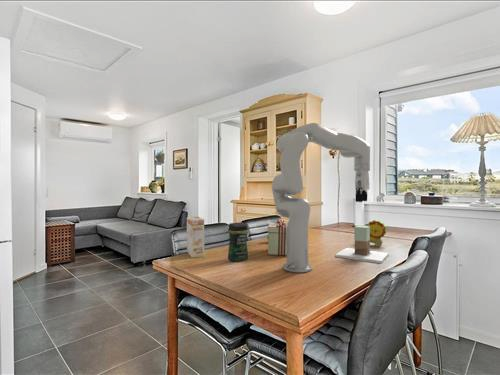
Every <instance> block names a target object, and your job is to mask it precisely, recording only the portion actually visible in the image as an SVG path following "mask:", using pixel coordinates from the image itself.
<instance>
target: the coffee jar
mask: <svg viewBox="0 0 500 375" xmlns="http://www.w3.org/2000/svg"><path fill="white" fill-rule="evenodd" d="M227 232H228V236H229V242H228V244H229V245H228V253H227V259H228V260H229V261H231V262H243V261H247V260H248V258H249V252H248V242H247V240H248V239H247V236H248V233H249V229H248V223H247V222H231V223H229V224H228V229H227Z"/></svg>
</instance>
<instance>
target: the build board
mask: <svg viewBox="0 0 500 375" xmlns="http://www.w3.org/2000/svg"><path fill="white" fill-rule="evenodd" d="M389 254H390V252H384V251H375V250H370V253H369V254H368V255H367V256H366V255H358V254H355V248H351V247H346V248H344V249H342V250H340V251H338V252H337V253H336V254H335V255H334V256H335V258H342V259H349V260H355V261H361V262H362V261H363V262H368V263H376V264H382V263H384V262H385V260H386V259H387V258H388V257H389Z"/></svg>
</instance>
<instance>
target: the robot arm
mask: <svg viewBox="0 0 500 375" xmlns="http://www.w3.org/2000/svg"><path fill="white" fill-rule="evenodd" d="M309 143H313V144H316V145H318V146H320V147H323V148H325V149H328V150H332V151H333V150H334V151H336V150H337V151H338V150H339V155H341V156H342V157H343V158H347V159H350V158H354V159H353V161H354V162H353V163H354V164H353V171H354V172H355V176H354V178H355V179H354V188H355V200H354V201H355V202H356V203H362V202H367V201H368V191H369V190H370V173H369V171H371V145H370V144H369V143H367V141H365V140H364V139H362V138H360V137H358V136H355V135H352V134H347V133H346V134H345V133H342V132H337V131H334V130H333V129H329V128H328V127H325V126H323V125H321V124H319V123H316V122H310V123H307V124H303V125H300V126H298V127H295V128H294V129H292V130H291V131H288V132H286V133H284V134H282V135H281V136H280V137H279V138H278V140H277V141H276V148H277V150H278V151H279V152H280V153H281V156H280V160H279V167H280V174H277V175H275V176H274V177H273V179H272V183H271V192H272V195H273V197H272V198H273V201H274V207H275V210H276V212H277V214H278V215H279V216H281V217H284V218H288V221H287V223H288V224H287V229H286V233H287V255H286V262H285V263H284V264H283V265H282V269H283V270H285V271H287V272H291V273H300V274H301V273H307V272H308V273H309V272H310V271H312V270H313V266H312V265H311V264H309V220H310V215H311V205H310V202H309V201H308V200H307V199H305V198H303V197H296V196H295V195H299V194H301V193H302V192H303V190H304V183H303V182H304V181H303V176H302V172H301V170H302V169H301V164H300V163H301V162H300V161H301V157H302V154H303V152H304V151H305V150H306V149H307V147H308V146H309Z"/></svg>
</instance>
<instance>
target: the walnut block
mask: <svg viewBox="0 0 500 375" xmlns="http://www.w3.org/2000/svg"><path fill="white" fill-rule="evenodd" d="M370 243H371V242H370V240H369V241H367V242H365V241H355V240H354V249H355V254H358V255H366V256H367V255H368V254H369V253H370V251H371V250H370V249H371V244H370Z"/></svg>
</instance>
